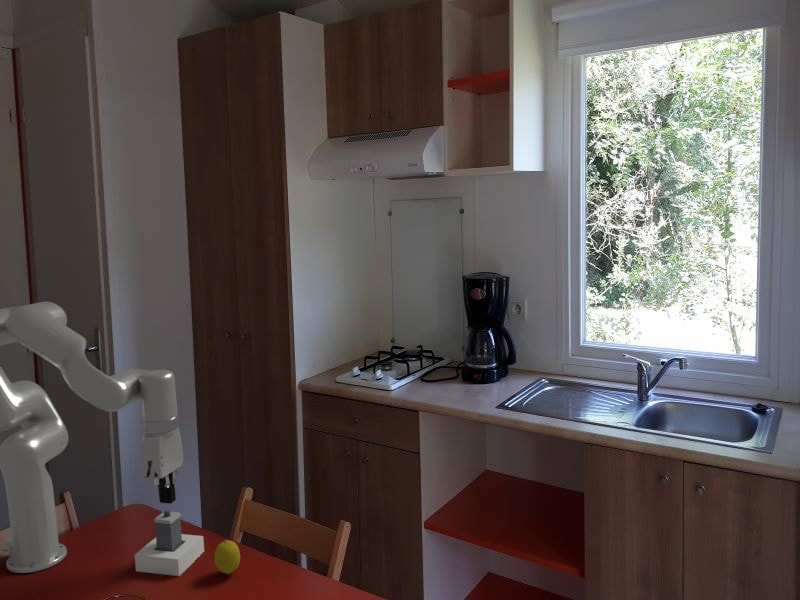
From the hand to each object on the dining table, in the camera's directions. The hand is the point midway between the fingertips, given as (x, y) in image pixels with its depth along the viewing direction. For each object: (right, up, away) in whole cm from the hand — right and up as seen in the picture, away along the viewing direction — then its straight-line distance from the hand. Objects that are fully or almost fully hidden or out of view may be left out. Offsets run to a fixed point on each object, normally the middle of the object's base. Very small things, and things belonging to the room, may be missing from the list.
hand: (167, 501), depth 157 cm
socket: (0, -15, +2) cm, 15 cm away
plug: (0, -13, +2) cm, 14 cm away
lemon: (+15, -15, -4) cm, 22 cm away
